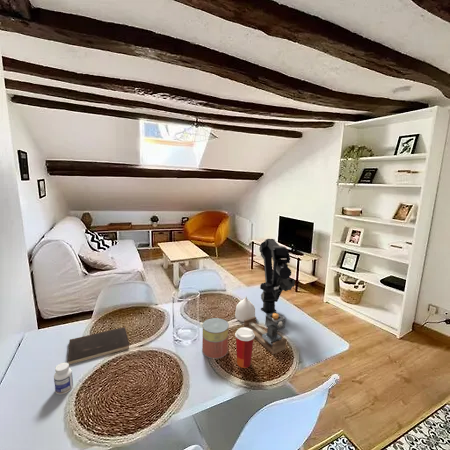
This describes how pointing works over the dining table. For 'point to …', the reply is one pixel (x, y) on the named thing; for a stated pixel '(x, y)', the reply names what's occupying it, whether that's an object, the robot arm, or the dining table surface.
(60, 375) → the pill bottle
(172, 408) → the dining table surface
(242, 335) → the paper cup
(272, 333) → the carriage
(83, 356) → the hardcover book
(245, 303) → the teardrop
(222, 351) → the canned food
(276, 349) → the rail
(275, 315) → the button
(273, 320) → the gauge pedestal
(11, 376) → the dining table surface
